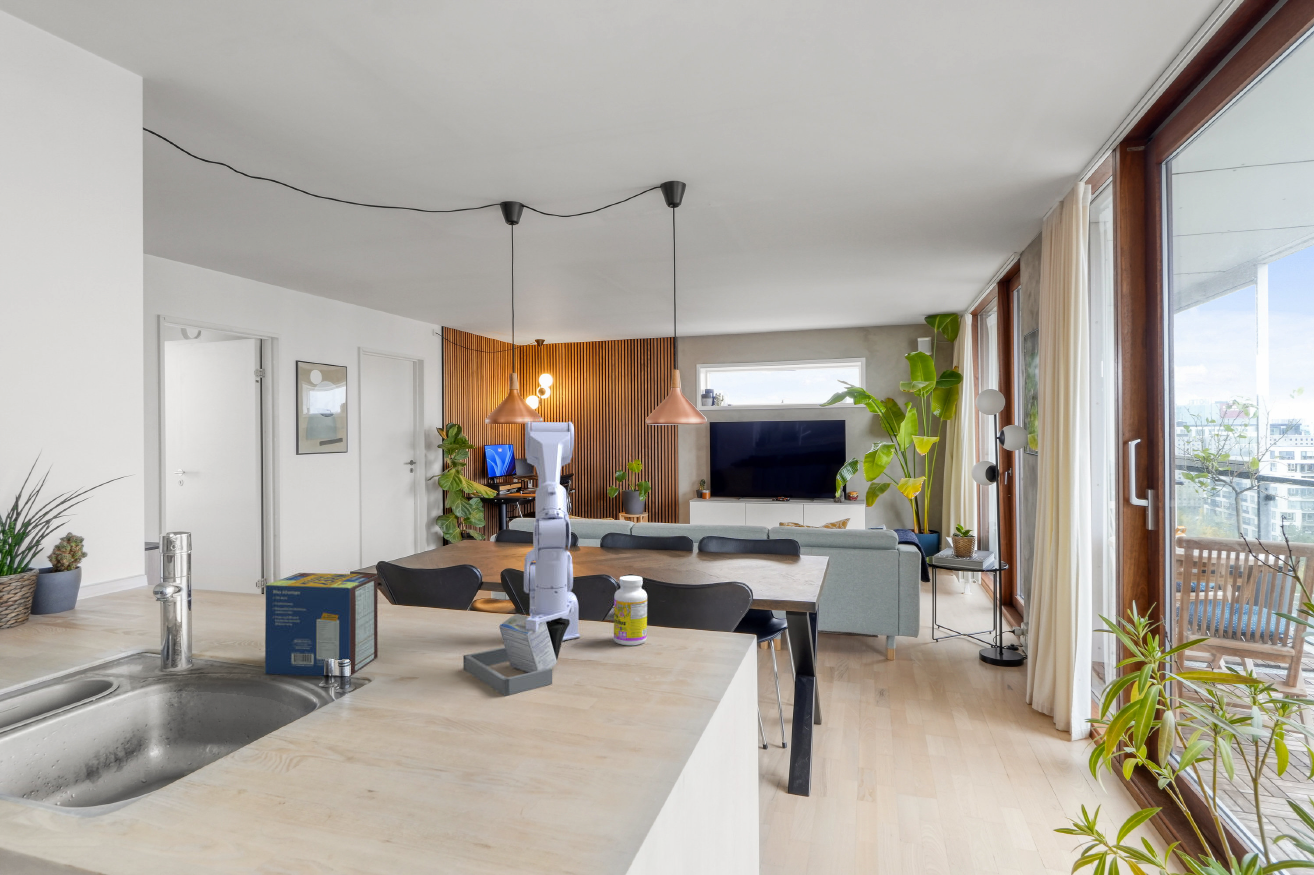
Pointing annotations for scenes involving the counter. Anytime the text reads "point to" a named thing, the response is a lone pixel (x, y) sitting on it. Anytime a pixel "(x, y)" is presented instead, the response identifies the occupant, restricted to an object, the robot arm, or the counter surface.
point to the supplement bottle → (630, 612)
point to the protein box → (320, 622)
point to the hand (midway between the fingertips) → (550, 660)
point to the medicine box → (527, 645)
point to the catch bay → (506, 686)
